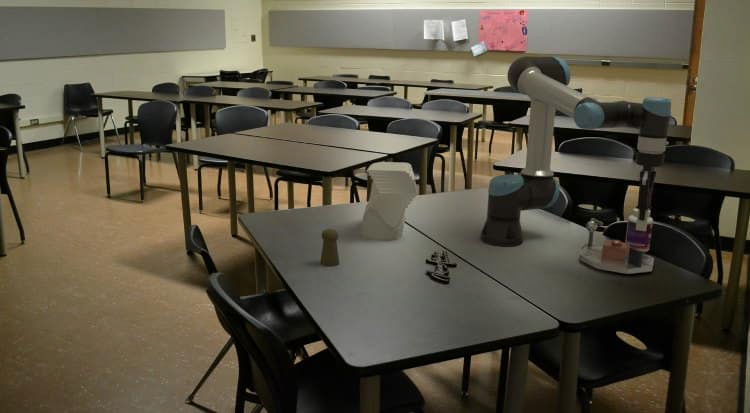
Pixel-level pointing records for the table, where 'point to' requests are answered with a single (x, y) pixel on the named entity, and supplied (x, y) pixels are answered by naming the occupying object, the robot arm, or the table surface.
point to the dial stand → (592, 230)
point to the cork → (329, 248)
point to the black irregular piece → (440, 267)
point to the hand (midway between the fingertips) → (640, 229)
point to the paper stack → (388, 200)
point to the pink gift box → (615, 249)
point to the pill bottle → (639, 233)
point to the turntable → (631, 264)
